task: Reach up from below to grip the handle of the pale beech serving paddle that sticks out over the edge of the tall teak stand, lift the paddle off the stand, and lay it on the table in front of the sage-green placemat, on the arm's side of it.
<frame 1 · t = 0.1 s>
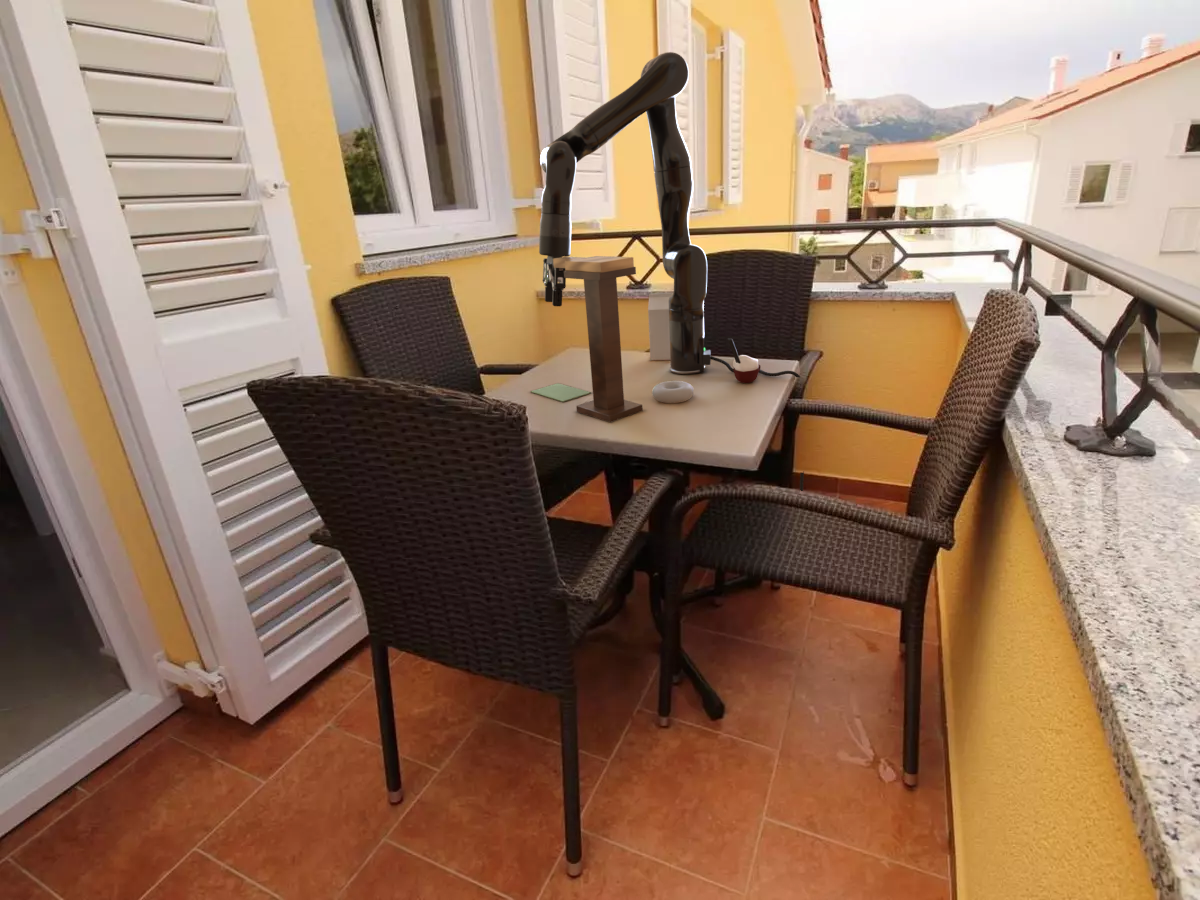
hand: (553, 303, 155), 22 cm above the table, tool pointing down, fingers open, 8 cm apart
cocoa: (744, 382, 159), on the table
donut: (673, 399, 150), on the table
stand: (609, 411, 145), on the table
paddle: (590, 268, 135), point 32 cm above the table, touching stand
cloth: (560, 392, 162), on the table
milk carton: (663, 358, 188), on the table
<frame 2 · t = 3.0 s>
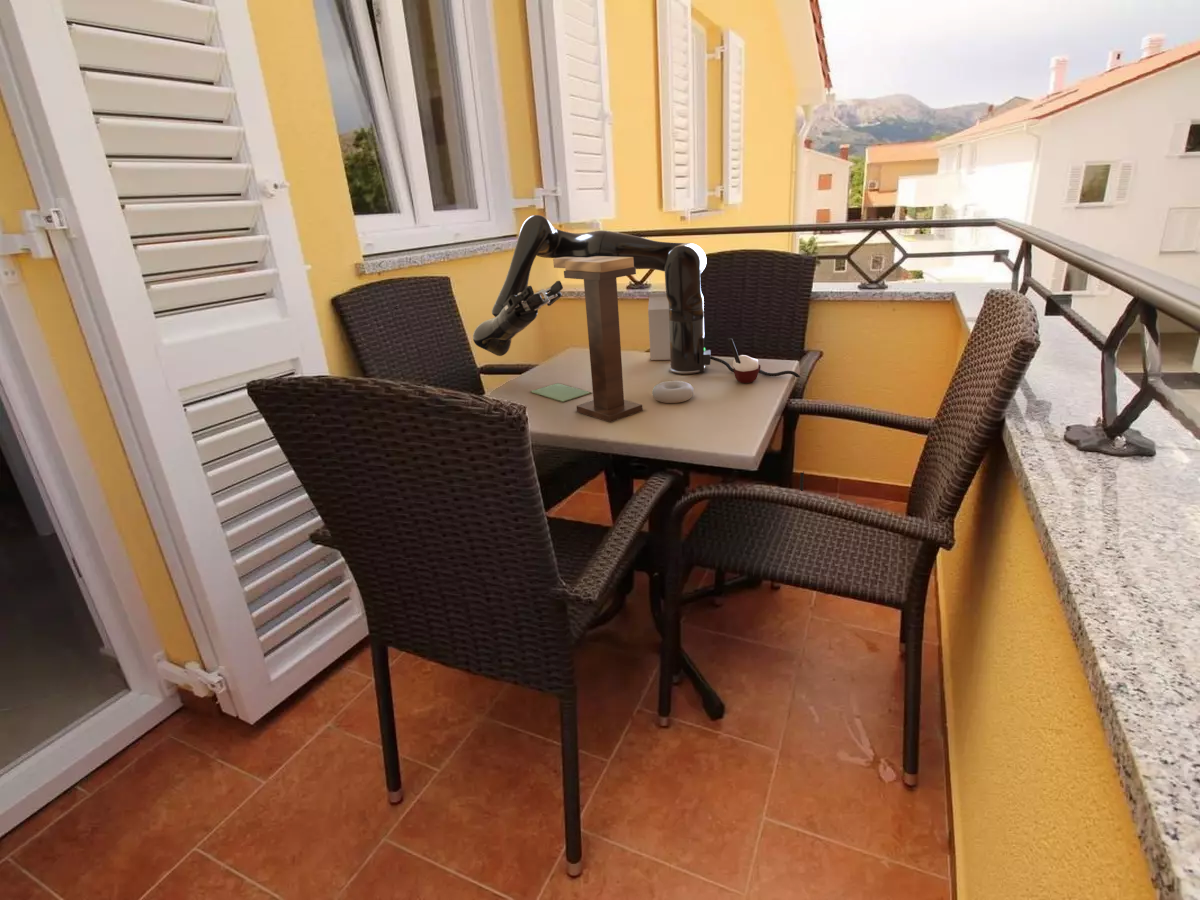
hand: (546, 286, 149), 27 cm above the table, tool pointing upward, fingers open, 8 cm apart
nothing on the table moved.
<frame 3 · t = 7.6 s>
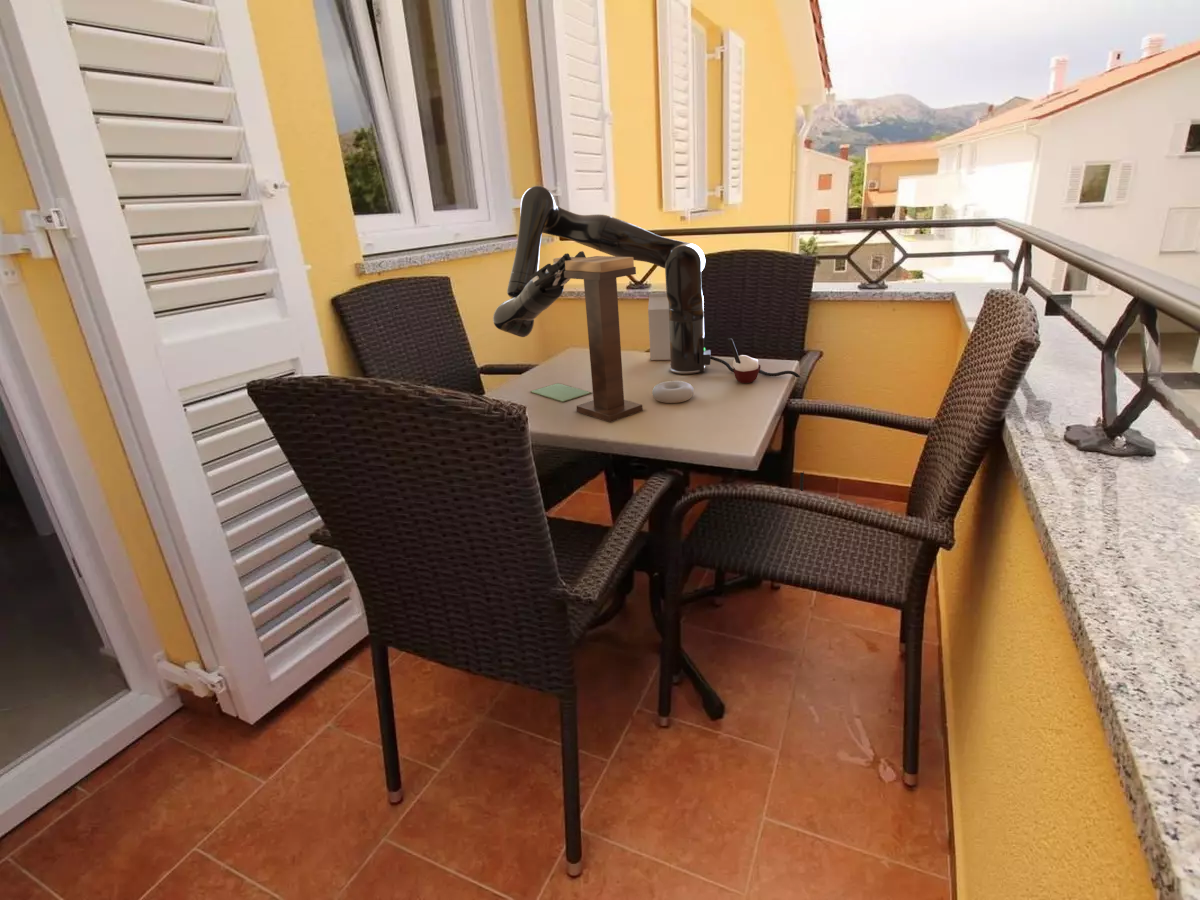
hand: (576, 256, 138), 34 cm above the table, tool pointing upward, fingers closed on paddle, 3 cm apart
paddle: (590, 268, 135), point 32 cm above the table, touching gripper, stand
everything else where it was.
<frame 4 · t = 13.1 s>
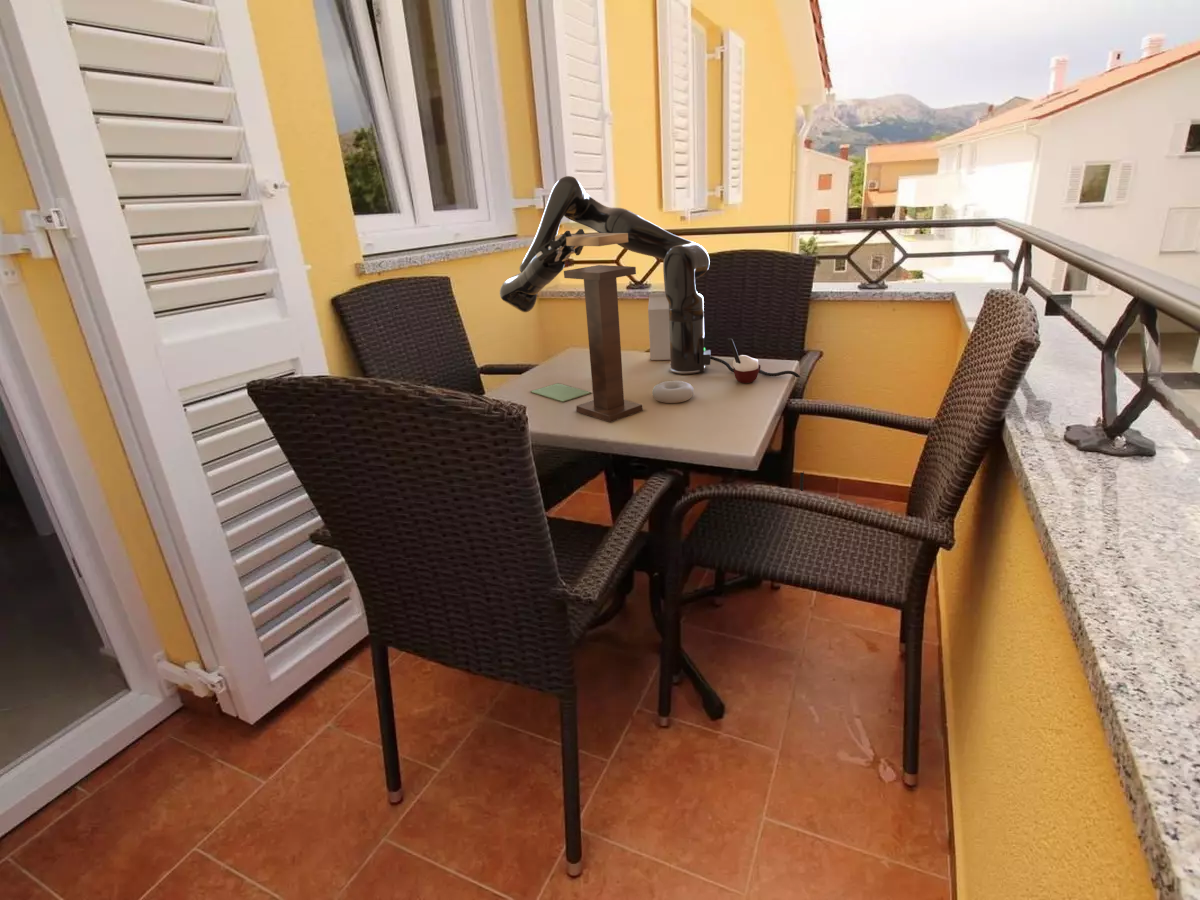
hand: (576, 233, 152), 38 cm above the table, tool pointing upward, fingers closed on paddle, 3 cm apart
paddle: (589, 243, 150), point 36 cm above the table, touching gripper
everything else where it was.
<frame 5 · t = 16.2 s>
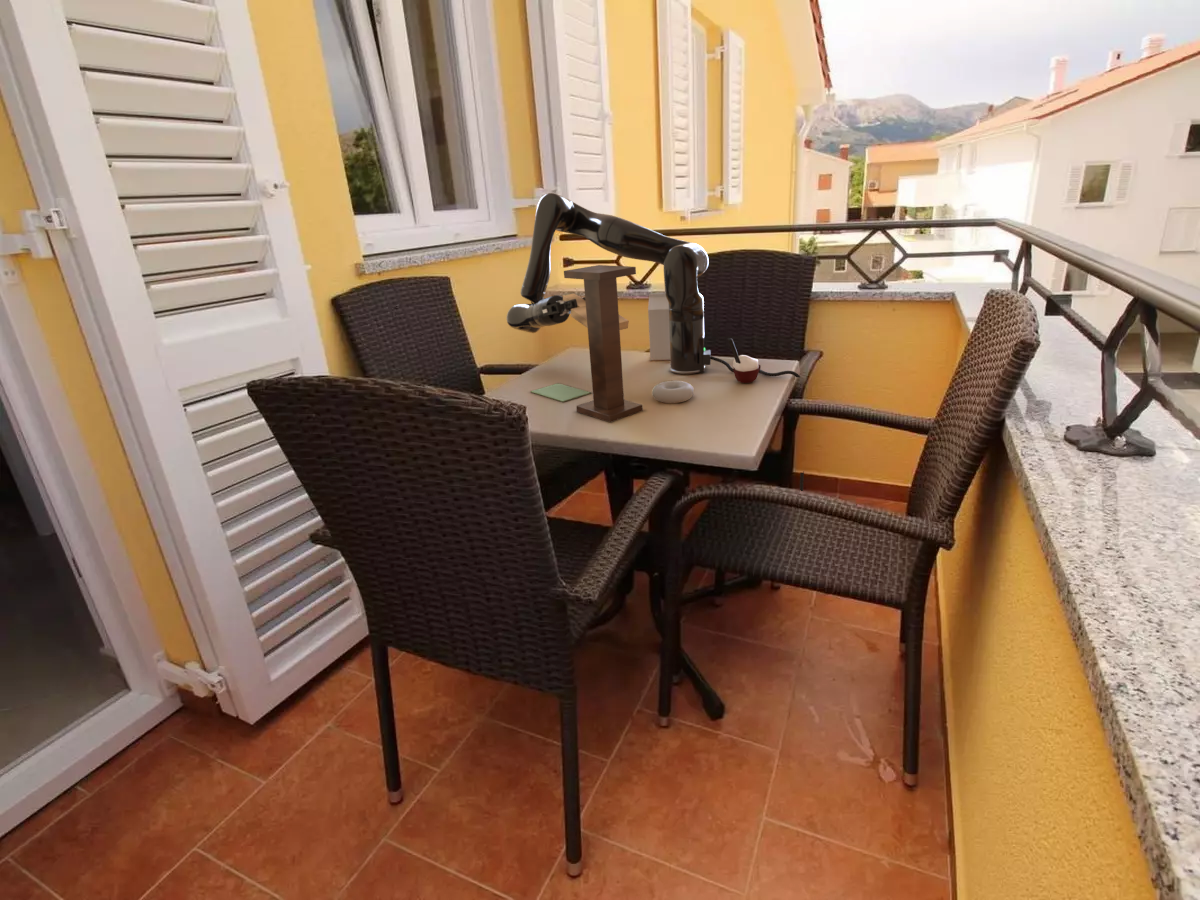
hand: (582, 301, 158), 22 cm above the table, tool horizontal, fingers closed on paddle, 3 cm apart
paddle: (592, 317, 157), point 18 cm above the table, tilted 16°, touching gripper
everything else where it was.
when the fingers open (9 cm above the table, at t = 18.9 s): paddle drops 5 cm, on the table.
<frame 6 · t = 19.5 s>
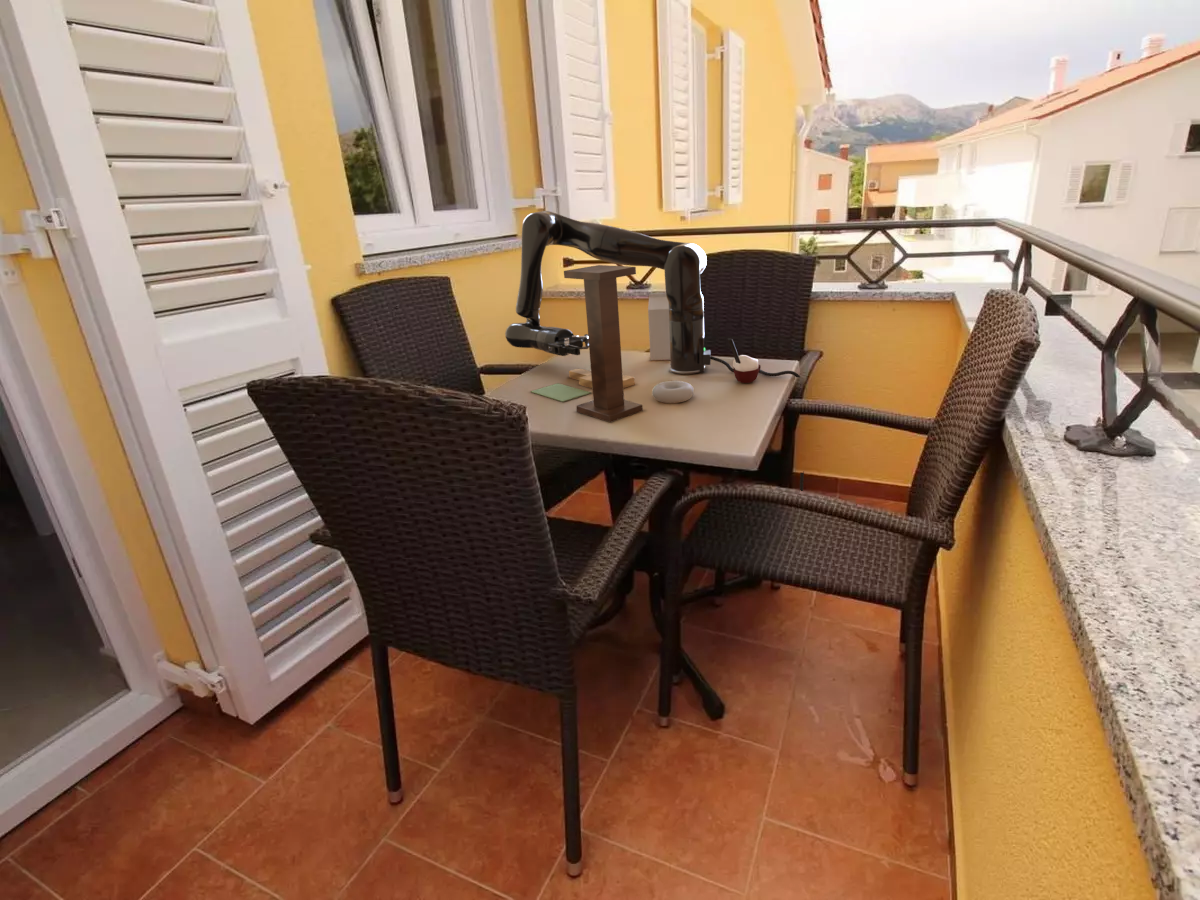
hand: (591, 347, 166), 9 cm above the table, tool horizontal, fingers open, 8 cm apart
paddle: (599, 382, 167), on the table
everything else where it was.
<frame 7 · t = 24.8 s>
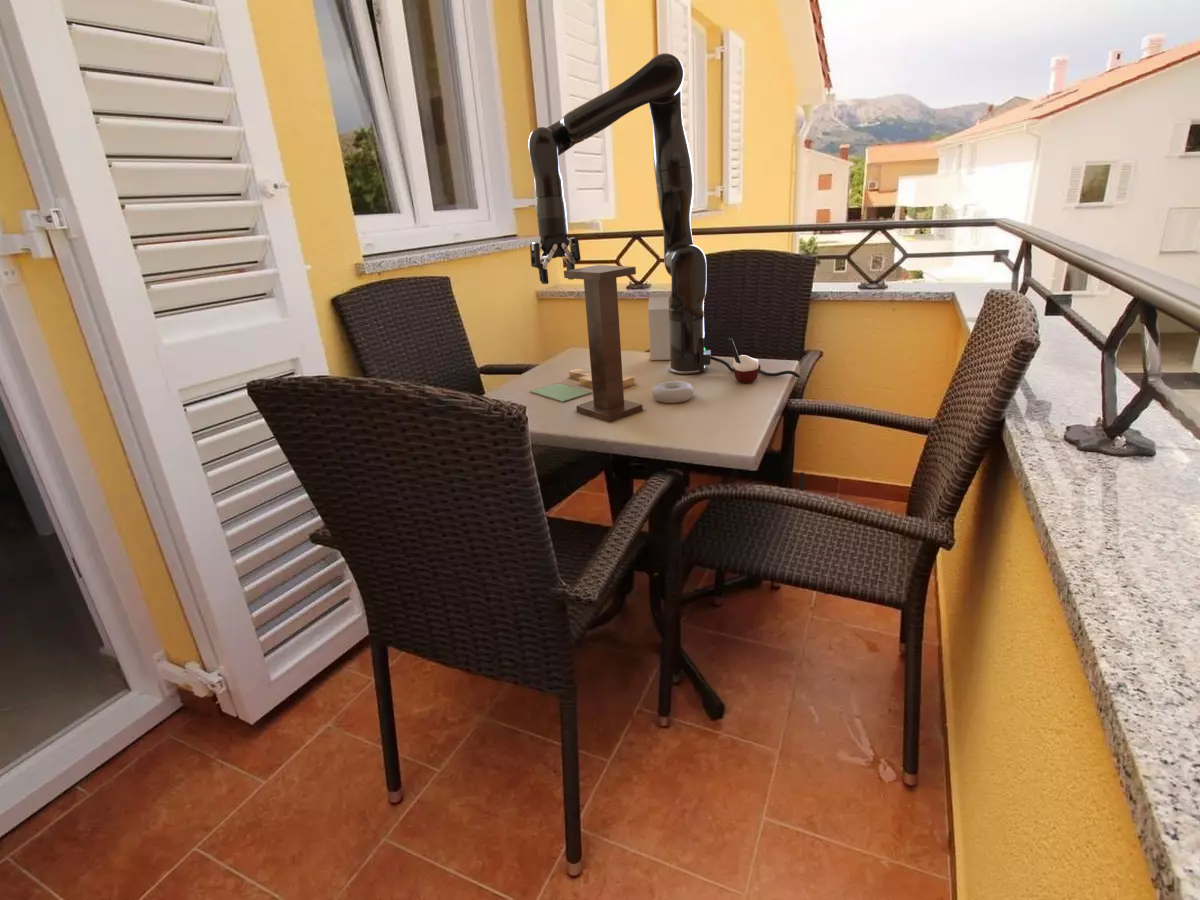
hand: (558, 281, 165), 26 cm above the table, tool pointing down, fingers open, 8 cm apart
nothing on the table moved.
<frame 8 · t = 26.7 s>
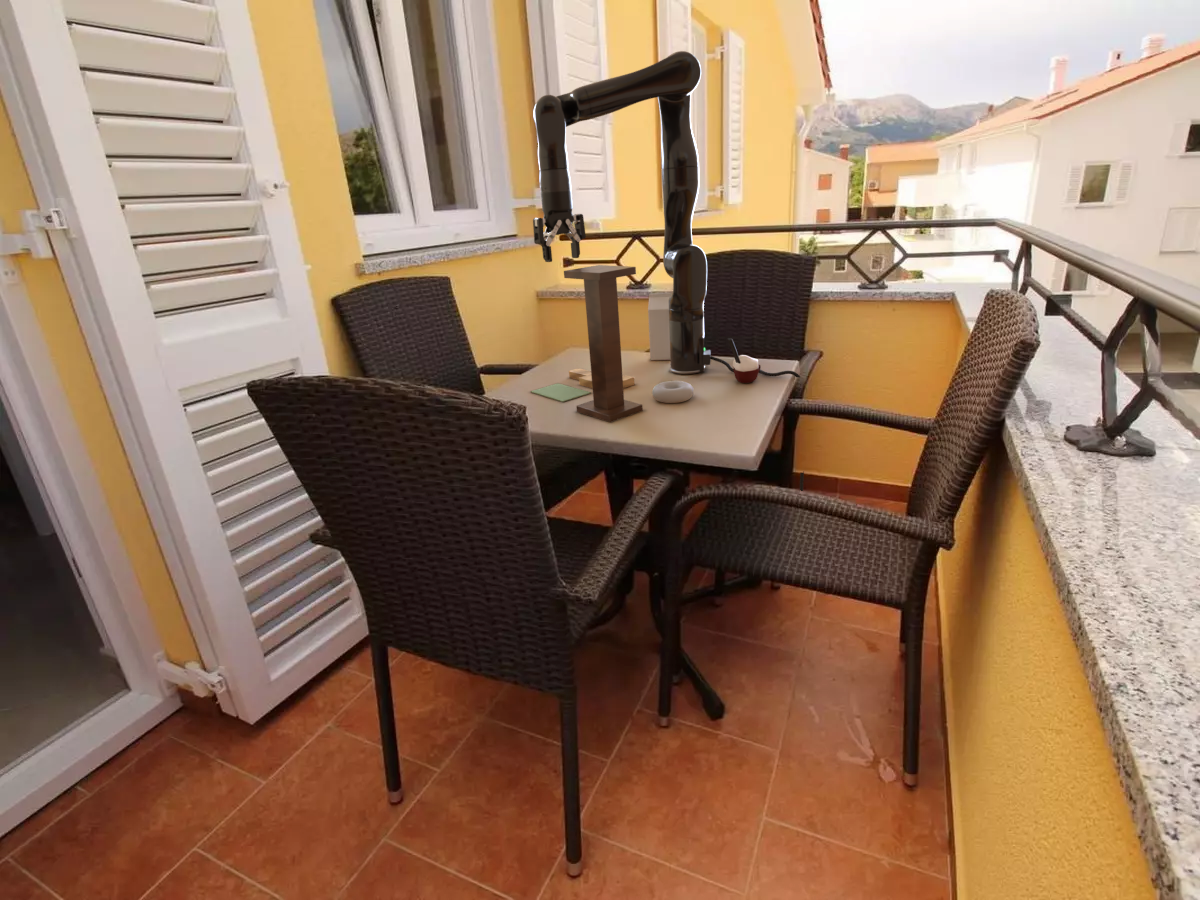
hand: (562, 259, 157), 32 cm above the table, tool pointing down, fingers open, 8 cm apart
nothing on the table moved.
at the end: paddle inside the target area on the table beside the cloth (2.4 cm from its centre), on the table; paddle tilted 0°; the gripper is holding nothing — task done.
